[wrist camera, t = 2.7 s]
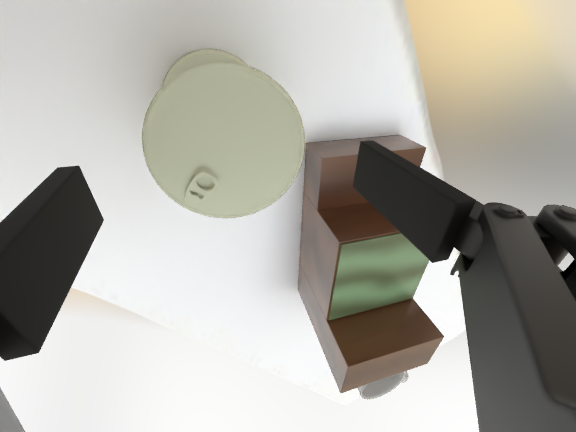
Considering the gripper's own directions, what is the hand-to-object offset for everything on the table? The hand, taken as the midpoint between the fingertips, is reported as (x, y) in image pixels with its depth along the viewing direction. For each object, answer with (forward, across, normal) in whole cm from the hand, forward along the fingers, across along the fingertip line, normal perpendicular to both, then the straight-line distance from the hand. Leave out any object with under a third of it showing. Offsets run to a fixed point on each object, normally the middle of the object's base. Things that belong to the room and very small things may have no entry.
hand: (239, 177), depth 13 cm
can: (+15, 0, 0) cm, 15 cm away
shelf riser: (+15, +15, -16) cm, 26 cm away
